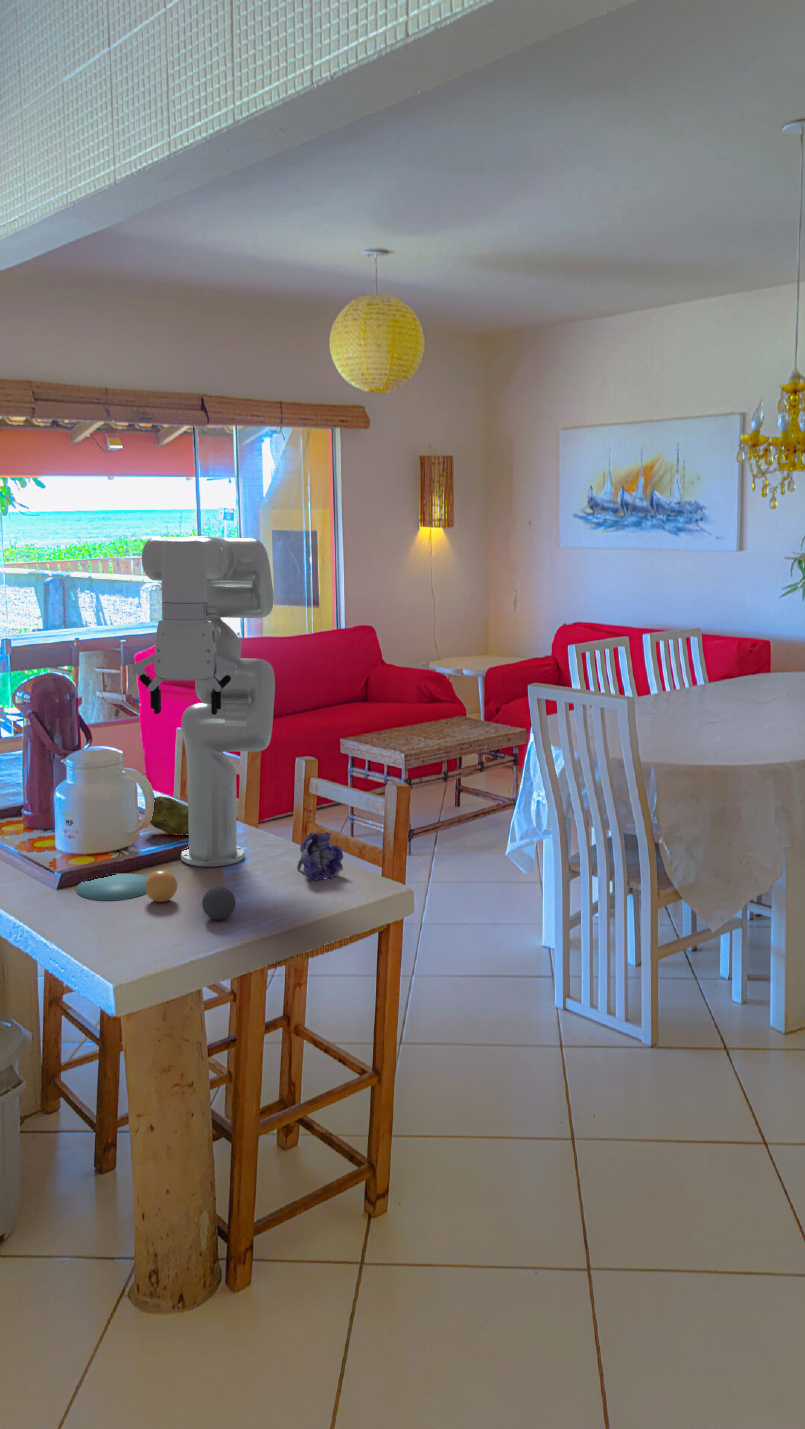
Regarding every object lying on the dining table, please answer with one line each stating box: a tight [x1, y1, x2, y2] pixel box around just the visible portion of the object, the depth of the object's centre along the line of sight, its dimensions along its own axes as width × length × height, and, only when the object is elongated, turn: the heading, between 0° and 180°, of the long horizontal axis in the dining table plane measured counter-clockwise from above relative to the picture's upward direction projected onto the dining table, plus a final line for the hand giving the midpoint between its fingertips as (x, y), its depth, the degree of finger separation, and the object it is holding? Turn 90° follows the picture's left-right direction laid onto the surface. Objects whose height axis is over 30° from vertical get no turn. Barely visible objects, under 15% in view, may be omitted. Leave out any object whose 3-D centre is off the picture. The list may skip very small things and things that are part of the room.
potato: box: [149, 795, 188, 835], centre depth 230 cm, size 8×13×8 cm, turn 72°
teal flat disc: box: [75, 873, 149, 902], centre depth 197 cm, size 14×14×1 cm
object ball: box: [145, 869, 178, 903], centre depth 190 cm, size 6×6×6 cm
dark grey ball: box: [201, 886, 236, 921], centre depth 183 cm, size 6×6×6 cm
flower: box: [296, 832, 344, 881], centre depth 205 cm, size 9×9×10 cm
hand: (186, 713), depth 183 cm, fingers open, 9 cm apart
